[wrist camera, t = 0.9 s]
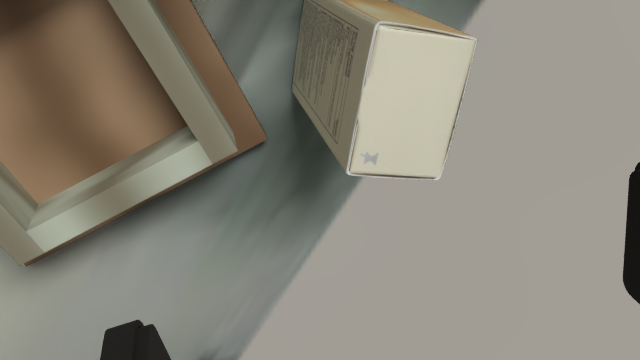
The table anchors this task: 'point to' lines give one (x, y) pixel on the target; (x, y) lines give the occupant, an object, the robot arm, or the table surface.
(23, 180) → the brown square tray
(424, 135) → the skincare box
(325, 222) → the table surface
